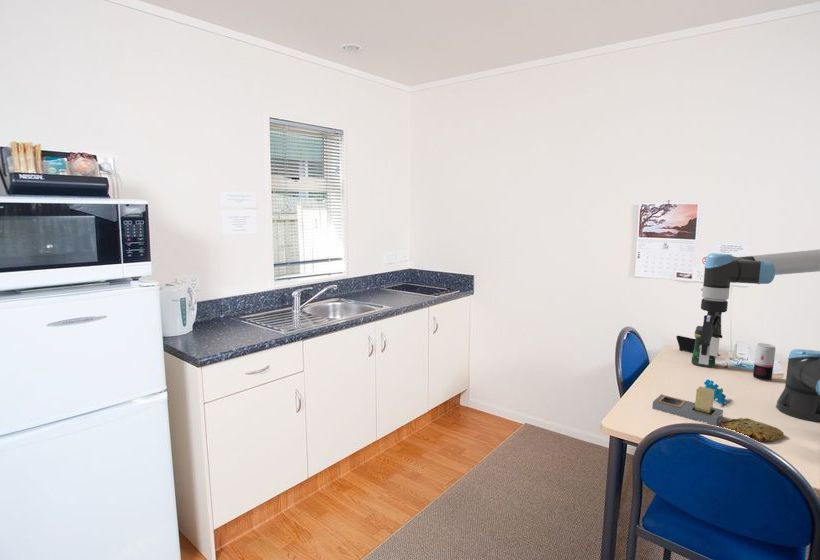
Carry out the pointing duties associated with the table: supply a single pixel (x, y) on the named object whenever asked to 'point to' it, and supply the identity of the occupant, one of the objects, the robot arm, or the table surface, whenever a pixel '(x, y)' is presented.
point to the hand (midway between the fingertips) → (708, 359)
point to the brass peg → (704, 400)
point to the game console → (686, 344)
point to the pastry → (754, 429)
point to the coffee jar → (697, 350)
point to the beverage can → (764, 362)
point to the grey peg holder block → (686, 409)
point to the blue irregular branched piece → (716, 391)
